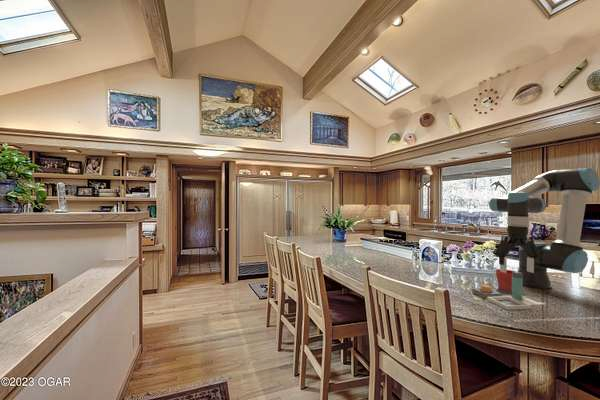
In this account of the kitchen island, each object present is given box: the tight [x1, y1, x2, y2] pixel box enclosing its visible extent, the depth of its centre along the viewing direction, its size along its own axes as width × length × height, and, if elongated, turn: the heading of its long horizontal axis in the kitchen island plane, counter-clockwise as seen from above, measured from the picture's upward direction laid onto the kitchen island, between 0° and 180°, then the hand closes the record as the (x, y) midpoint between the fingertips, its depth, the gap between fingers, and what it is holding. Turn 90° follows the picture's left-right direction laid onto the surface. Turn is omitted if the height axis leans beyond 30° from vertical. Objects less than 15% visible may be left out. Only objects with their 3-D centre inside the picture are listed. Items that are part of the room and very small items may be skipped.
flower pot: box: [495, 268, 518, 293], centre depth 138 cm, size 11×11×10 cm
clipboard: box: [501, 294, 546, 306], centre depth 124 cm, size 12×14×1 cm
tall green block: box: [511, 270, 524, 300], centre depth 124 cm, size 4×4×12 cm
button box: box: [471, 287, 502, 300], centre depth 128 cm, size 8×8×3 cm
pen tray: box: [486, 295, 533, 311], centre depth 117 cm, size 11×11×2 cm
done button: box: [480, 284, 493, 293], centre depth 128 cm, size 4×4×4 cm
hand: (516, 272), depth 124 cm, fingers open, 13 cm apart
